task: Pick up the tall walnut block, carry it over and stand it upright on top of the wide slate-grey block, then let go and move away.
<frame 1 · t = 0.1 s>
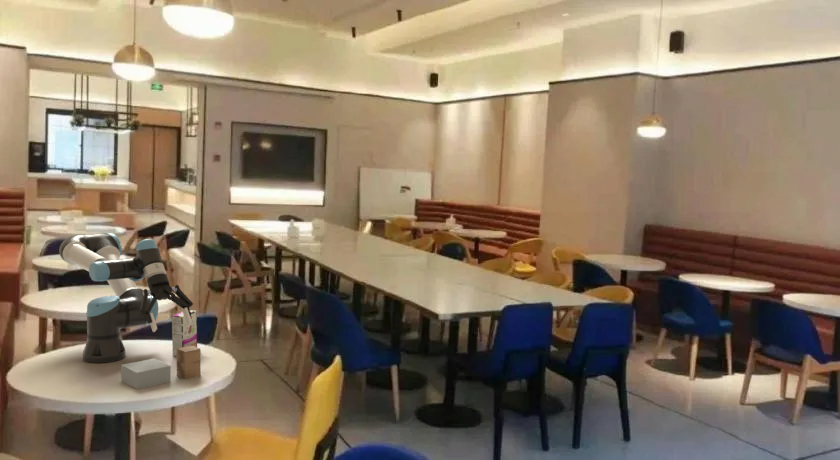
hand: (172, 327, 257), 15 cm above the table, tool tilted 35°, fingers open, 13 cm apart
candy bar box: (184, 353, 277), on the table
slate base block: (146, 381, 242), on the table
walnut block: (188, 375, 250), on the table
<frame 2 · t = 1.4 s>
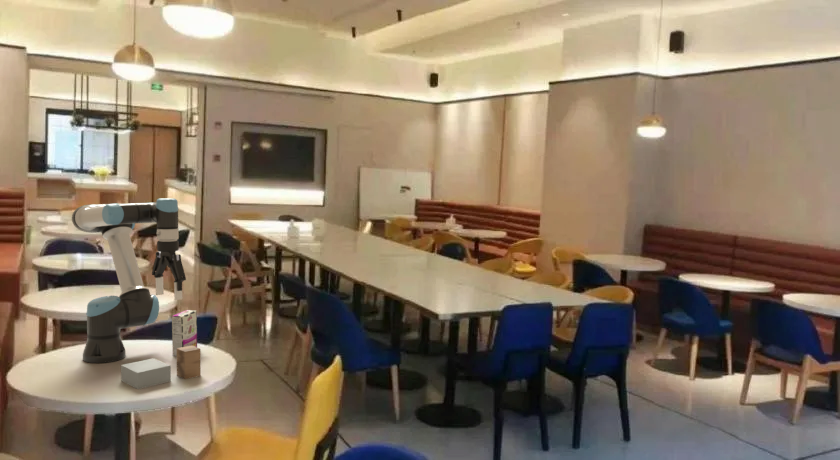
hand: (168, 297, 257), 26 cm above the table, tool pointing down, fingers open, 13 cm apart
nothing on the table moved.
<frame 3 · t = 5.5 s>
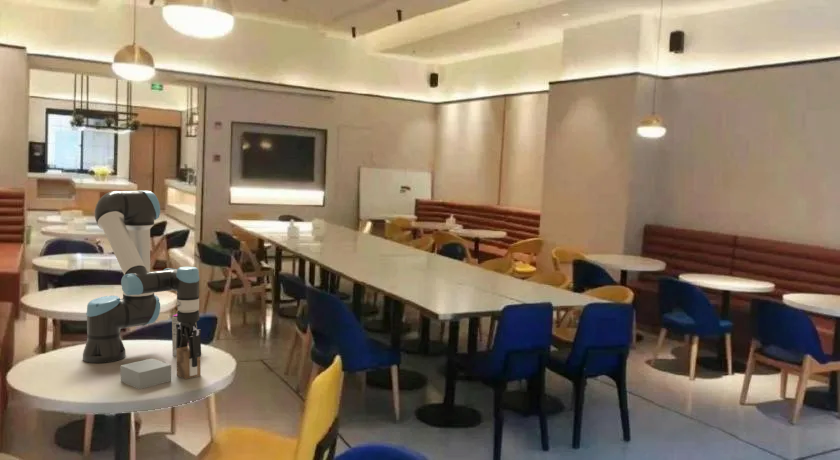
hand: (188, 372, 250), 1 cm above the table, tool pointing down, fingers closed on walnut block, 6 cm apart
walnut block: (188, 375, 250), on the table, touching gripper
everything else where it was.
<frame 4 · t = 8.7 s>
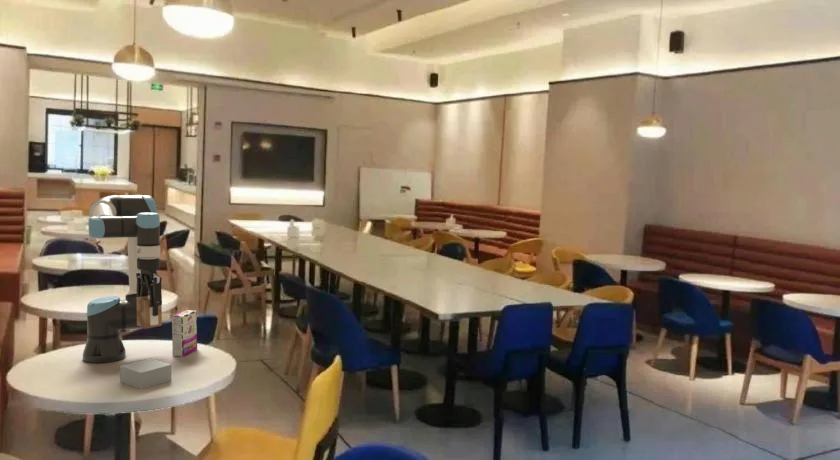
hand: (149, 322, 241), 21 cm above the table, tool pointing down, fingers closed on walnut block, 6 cm apart
walnut block: (149, 325, 241), point 20 cm above the table, touching gripper
everything else where it was.
when the fingers open (8 cm above the table, at t = 11.9 s): walnut block drops 2 cm, resting on slate base block.
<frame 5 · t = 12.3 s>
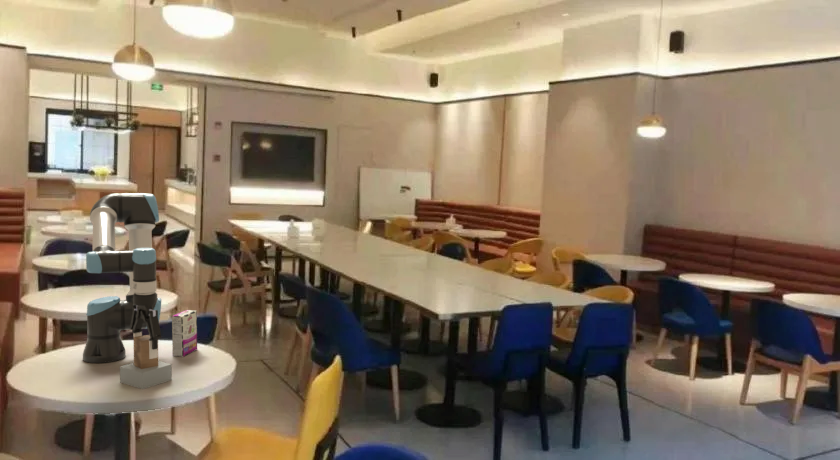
hand: (145, 354, 241), 10 cm above the table, tool pointing down, fingers open, 11 cm apart
slate base block: (146, 382, 242), on the table, touching walnut block
walnut block: (146, 365, 242), point 6 cm above the table, touching slate base block
everything else where it was.
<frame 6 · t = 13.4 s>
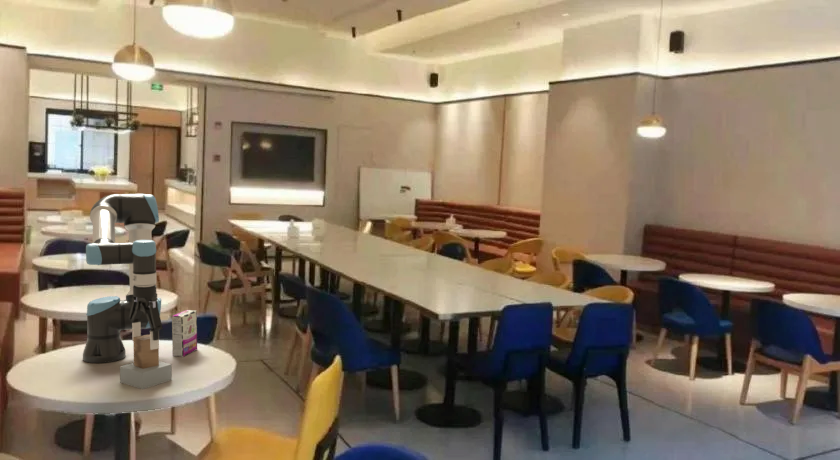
hand: (145, 344, 241), 13 cm above the table, tool pointing down, fingers open, 13 cm apart
nothing on the table moved.
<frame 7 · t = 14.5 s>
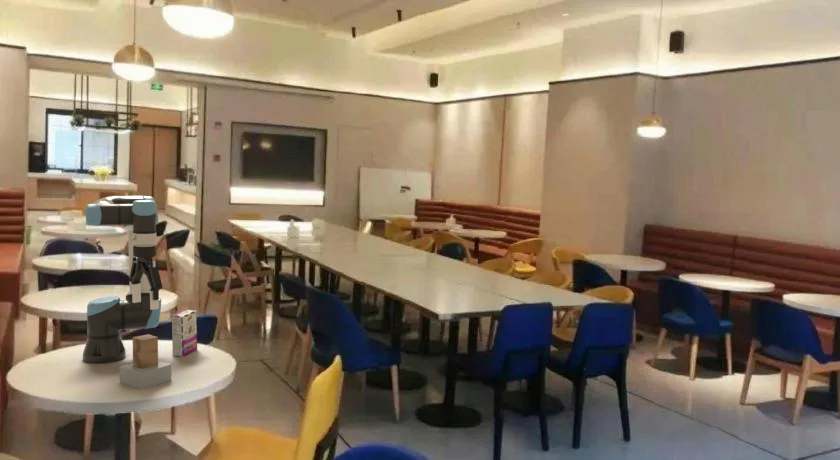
hand: (145, 305, 240), 27 cm above the table, tool pointing down, fingers open, 13 cm apart
slate base block: (145, 382, 242), on the table
walnut block: (145, 365, 242), point 6 cm above the table
everything else where it was.
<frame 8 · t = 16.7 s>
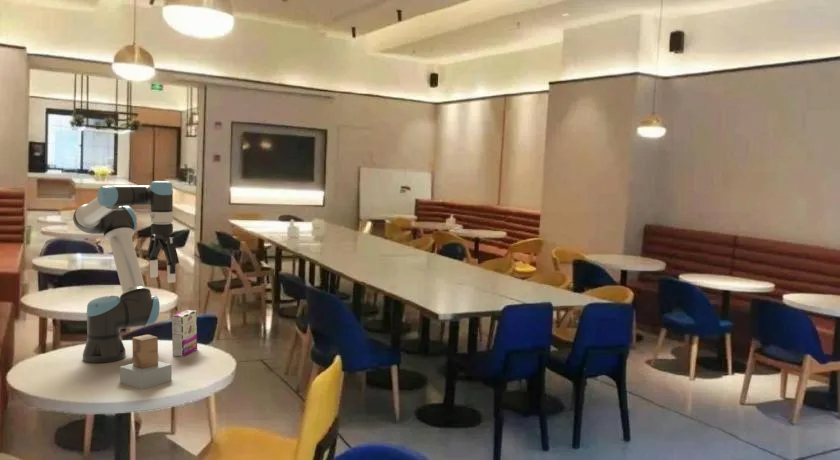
hand: (162, 279, 257), 33 cm above the table, tool pointing down, fingers open, 13 cm apart
slate base block: (146, 382, 242), on the table, touching walnut block
walnut block: (145, 365, 242), point 6 cm above the table, touching slate base block
everything else where it was.
at the end: walnut block inside the target area on the slate base block (0.2 cm from its centre), point 6.0 cm above the slate base block's base; walnut block tilted 0°; the gripper is holding nothing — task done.
